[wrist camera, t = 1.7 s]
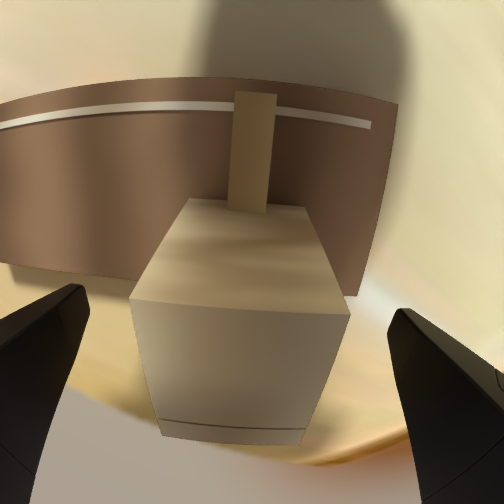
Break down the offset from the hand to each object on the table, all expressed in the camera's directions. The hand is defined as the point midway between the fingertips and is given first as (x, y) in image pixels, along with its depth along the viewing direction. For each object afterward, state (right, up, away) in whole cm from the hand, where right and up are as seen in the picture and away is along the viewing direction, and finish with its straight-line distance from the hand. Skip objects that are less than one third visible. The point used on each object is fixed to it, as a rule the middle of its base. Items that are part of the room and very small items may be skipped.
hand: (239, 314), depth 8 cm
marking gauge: (0, +4, +5) cm, 6 cm away
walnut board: (-5, +5, +5) cm, 8 cm away
